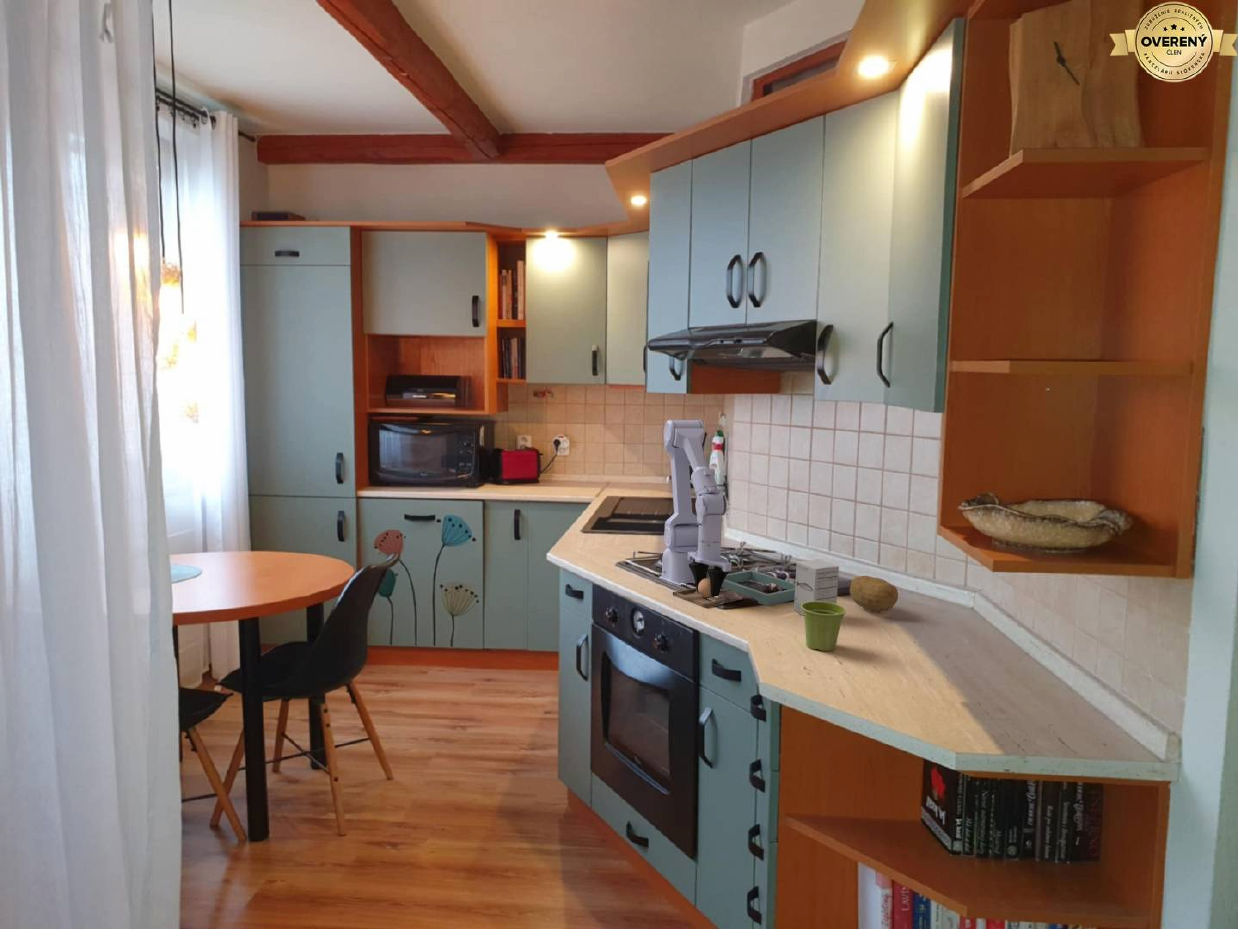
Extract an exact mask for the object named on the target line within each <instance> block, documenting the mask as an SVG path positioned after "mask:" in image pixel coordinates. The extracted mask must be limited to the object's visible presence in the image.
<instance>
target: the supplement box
mask: <svg viewBox="0 0 1238 929" xmlns="http://www.w3.org/2000/svg"><path fill="white" fill-rule="evenodd" d="M839 571H840V566H838V565H836V564H833V563H830V562H828V561H824V560H821V559H818V558H816V559H808V560H802V561H801V560H800V561H796V568H795V583H794V584H795V598H794V600H793V611H794V612H795V613H798V614H799V615H802V616H804V615H803V610H802V609H801V604H803V603H805V602H809V601H823V602H829V603H835V604H837V600H838V587H839V586H838V585H839V573H840V572H839Z"/></svg>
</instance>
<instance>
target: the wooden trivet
mask: <svg viewBox="0 0 1238 929" xmlns="http://www.w3.org/2000/svg"><path fill="white" fill-rule="evenodd" d="M696 590H697V589H696V587H692V588H686V589H682V590H677V591H673V592H672V596H674V597H676V598H679V599H682V600H684V601H686V602H688V603H691V604H693V605H696V606H699V607H701V608H704V609H708V608H713V607H718V606H721V605H720V603H722V602H723V601H727V600H720V601H715V602H712V601H711V600H709V599H707V598H705V597H703V596H701V595H699V594H698V593H695V591H696ZM724 591H725V590H724ZM729 593H730V594H732V595H736V594H734V593H731V592H729Z"/></svg>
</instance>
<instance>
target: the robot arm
mask: <svg viewBox="0 0 1238 929" xmlns="http://www.w3.org/2000/svg"><path fill="white" fill-rule="evenodd" d="M705 434H706V428H705V426H704V423H703V421H702V420H701V419H695V420H693V419H691V420H690V419H689V420H688V419H687V420H685V419H684V420H683V419H682V420H680V419H679V420H675V419H673V420H672V419H668V420H667V421H666V423H665V425H664V427H663V443H664V444H663V445H664V450H665V452H667V453H669V457H670V469H671V484H672V485H671V486H672V488H671V489H672V500H673V514H672V515H670V517H669V518H667V519H666V521H665V522H664V533H663V540H664V544H665V546H666V549H664V550H663V553H662V558H661V561H662V563H661V576H659V579H660V580H665V581H666V582H670V583H672V584H675V585H677V586H680V587H681V584H680V583H693V584H695V588H696V589H697V591H698V585H699V583H700V581H701V580H703V579H705V578H707V574H708V578H710V585H711V596H713V597H714V596H719V593H720V590H721V587H722V584H723V581H724V579H725V577H726V576H727V574H730V572H731V571H732V566H733V565H732V563H731V562H729V561H727V560H725V558H722V556H721V553H722V551H721V550H722V528H723V527H722V526H723V516H724V515H726V512H727V509H728V508H727V507H728V504H727V499H726V495H725V493H724V492H722V490H721V489H719V487H718V484H717V481H716V478H715V475H714V472H713V470H712V469H711V468H709V467H707V463H706V458H705V454H704V447H703V443H704V440H705V439H704V438H705ZM690 466H691V468H692V474H691V473H690ZM690 474H691V475H690ZM691 482H692V483H691ZM691 484H692V486H693V488H694V492H695V496H696V500H695V503H694V504H695V511H696V515H695V514H694V513H693V503H692V491H691V490H692V488H691ZM709 567H712V568H709Z"/></svg>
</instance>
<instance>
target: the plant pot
mask: <svg viewBox="0 0 1238 929" xmlns="http://www.w3.org/2000/svg"><path fill="white" fill-rule="evenodd" d="M801 609H802V610H803V615H802V616H803V617H804V618H803V619H804V629H805V630H804V631H805V643H806V646H807V647H808V648H810V649H811V650H819V651H821V652H829V651H833V650H834V649H836V647H837V644H838V643H837V642H838V637H839V634H840V629H841V624H842V620H843V618H844V615H845V614H846V613H847V608H846V607H845V606H842V605H841V604H835V603H829V602H823V601H809V602H805V603H803V604H801Z"/></svg>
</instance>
